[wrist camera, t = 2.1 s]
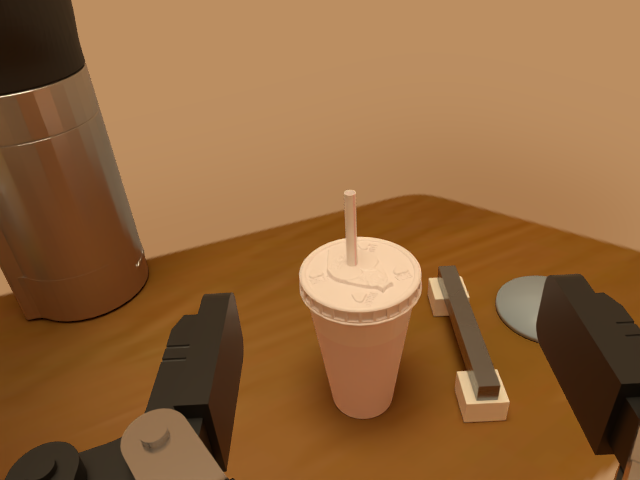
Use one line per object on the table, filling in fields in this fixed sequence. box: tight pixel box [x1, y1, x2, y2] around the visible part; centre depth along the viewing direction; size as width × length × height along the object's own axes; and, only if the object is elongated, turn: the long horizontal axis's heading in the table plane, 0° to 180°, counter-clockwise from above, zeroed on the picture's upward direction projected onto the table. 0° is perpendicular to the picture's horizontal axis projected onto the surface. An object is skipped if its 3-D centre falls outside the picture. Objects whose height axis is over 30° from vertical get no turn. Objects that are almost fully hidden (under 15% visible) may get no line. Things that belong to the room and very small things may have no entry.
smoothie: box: [299, 190, 422, 419], centre depth 29 cm, size 6×6×14 cm
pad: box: [496, 276, 547, 343], centre depth 38 cm, size 7×7×1 cm
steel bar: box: [438, 266, 501, 401], centre depth 34 cm, size 11×1×1 cm, turn 1°
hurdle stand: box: [428, 276, 510, 422], centre depth 35 cm, size 11×2×2 cm, turn 1°
